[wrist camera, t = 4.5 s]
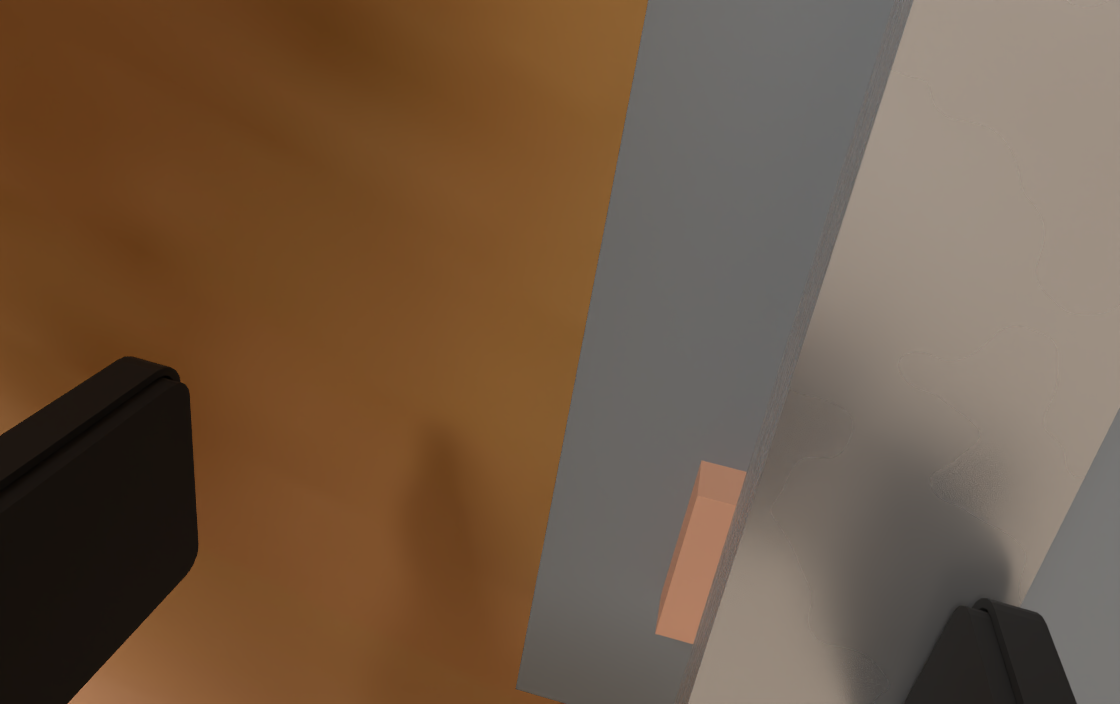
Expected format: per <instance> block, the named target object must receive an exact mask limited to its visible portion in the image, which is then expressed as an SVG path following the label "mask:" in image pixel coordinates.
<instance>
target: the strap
mask: <svg viewBox="0 0 1120 704" xmlns="http://www.w3.org/2000/svg"><path fill="white" fill-rule="evenodd" d="M1119 408H1120V0H894V2H893V5H892V8H891V11H890V15H889V18H888V21H887V24H886V27H885V31H884V34H883V37H882V40H881V43H880V47H879V50H878V53H877V56H876V59H875V63H874V66H873V69H872V72H871V75H870V79H869V82H868V85H867V88H866V91H865V95H864V98H863V101H862V104H861V107H860V111H859V114H858V117H857V120H856V124H855V127H854V130H853V133H852V136H851V140H850V143H849V146H848V149H847V152H846V156H845V159H844V162H843V165H842V168H841V172H840V175H839V178H838V181H837V184H836V188H835V191H834V194H833V197H832V200H831V204H830V207H829V210H828V213H827V216H826V220H825V223H824V226H823V229H822V232H821V236H820V239H819V242H818V245H817V249H816V252H815V255H814V258H813V261H812V265H811V268H810V271H809V274H808V277H807V281H806V284H805V287H804V290H803V293H802V297H801V300H800V303H799V306H798V309H797V313H796V316H795V319H794V322H793V325H792V329H791V332H790V335H789V338H788V341H787V345H786V348H785V351H784V354H783V358H782V361H781V364H780V367H779V370H778V374H777V377H776V380H775V383H774V386H773V390H772V393H771V396H770V399H769V402H768V406H767V409H766V412H765V415H764V418H763V422H762V425H761V428H760V431H759V434H758V438H757V441H756V444H755V447H754V450H753V454H752V457H751V460H750V463H749V466H748V470H747V473H746V476H745V479H744V483H743V486H742V489H741V492H740V495H739V499H738V502H737V505H736V508H735V511H734V515H733V518H732V521H731V524H730V527H729V531H728V534H727V537H726V540H725V543H724V547H723V550H722V553H721V556H720V559H719V563H718V566H717V569H716V572H715V575H714V579H713V582H712V585H711V588H710V591H709V595H708V598H707V601H706V604H705V608H704V611H703V614H702V617H701V620H700V624H699V627H698V630H697V633H696V636H695V640H694V643H693V646H692V649H691V652H690V656H689V659H688V662H687V665H686V668H685V672H684V675H683V678H682V681H681V684H680V688H679V691H678V694H677V697H676V700H675V704H904V702H905V700H906V699H907V697H908V695H909V693H910V691H911V689H912V688H913V686H914V684H915V682H916V680H917V678H918V677H919V675H920V673H921V671H922V669H923V667H924V666H925V664H926V662H927V660H928V658H929V656H930V654H931V653H932V651H933V649H934V647H935V645H936V643H937V642H938V640H939V638H940V636H941V634H942V632H943V631H944V629H945V627H946V625H947V623H948V621H949V620H950V618H951V616H952V614H953V613H954V611H955V610H956V608H958V607H959V606H967V607H971V608H972V607H973V605H974V604H975V602H977V601H978V600H979V599H981V598H988V599H992V600H995V601H999V602H1002V603H1006V604H1009V605H1013V606H1016V607H1020V606H1021V604H1022V602H1023V600H1024V598H1025V596H1026V594H1027V592H1028V590H1029V588H1030V586H1031V584H1032V582H1033V580H1034V578H1035V576H1036V574H1037V572H1038V570H1039V568H1040V566H1041V564H1042V562H1043V560H1044V558H1045V556H1046V554H1047V552H1048V550H1049V548H1050V546H1051V544H1052V542H1053V540H1054V538H1055V536H1056V534H1057V532H1058V530H1059V528H1060V526H1061V524H1062V522H1063V520H1064V518H1065V516H1066V514H1067V512H1068V510H1069V508H1070V506H1071V504H1072V502H1073V500H1074V498H1075V496H1076V494H1077V492H1078V490H1079V488H1080V486H1081V484H1082V482H1083V480H1084V478H1085V476H1086V474H1087V472H1088V470H1089V468H1090V466H1091V464H1092V462H1093V460H1094V458H1095V456H1096V454H1097V452H1098V450H1099V448H1100V446H1101V444H1102V442H1103V440H1104V438H1105V436H1106V434H1107V432H1108V430H1109V428H1110V426H1111V424H1112V422H1113V420H1114V418H1115V416H1116V414H1117V412H1118V410H1119Z"/></svg>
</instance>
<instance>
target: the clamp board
mask: <svg viewBox="0 0 1120 704" xmlns="http://www.w3.org/2000/svg"><path fill="white" fill-rule="evenodd" d="M893 2H894V0H648V5H647V10H646V15H645V20H644V26H643V31H642V36H641V41H640V46H639V52H638V57H637V62H636V67H635V72H634V78H633V83H632V88H631V93H630V98H629V103H628V109H627V114H626V119H625V124H624V129H623V135H622V140H621V145H620V150H619V155H618V161H617V166H616V171H615V176H614V181H613V187H612V192H611V197H610V202H609V207H608V212H607V218H606V223H605V228H604V233H603V238H602V244H601V249H600V254H599V259H598V264H597V270H596V275H595V280H594V285H593V290H592V296H591V301H590V306H589V311H588V316H587V321H586V327H585V332H584V337H583V342H582V347H581V353H580V358H579V363H578V368H577V373H576V379H575V384H574V389H573V394H572V399H571V405H570V410H569V415H568V420H567V425H566V430H565V436H564V441H563V446H562V451H561V456H560V462H559V467H558V472H557V477H556V482H555V488H554V493H553V498H552V503H551V508H550V513H549V519H548V524H547V529H546V534H545V539H544V545H543V550H542V555H541V560H540V565H539V571H538V576H537V581H536V586H535V591H534V597H533V602H532V607H531V612H530V617H529V622H528V628H527V633H526V638H525V643H524V648H523V654H522V659H521V664H520V669H519V674H518V680H517V685H516V689H517V690H521V691H524V692H528V693H531V694H535V695H538V696H541V697H545V698H548V699H552V700H555V701H559V702H562V703H565V704H675V700H676V697H677V694H678V691H679V688H680V684H681V681H682V678H683V675H684V672H685V668H686V665H687V662H688V659H689V656H690V652H691V649H692V646H693V643H694V640H695V636H696V633H697V630H698V627H699V624H700V620H701V617H702V614H703V611H704V608H705V604H706V601H707V598H708V595H709V591H710V588H711V585H712V582H713V579H714V575H715V572H716V569H717V566H718V563H719V559H720V556H721V553H722V550H723V547H724V543H725V540H726V537H727V534H728V531H729V527H730V524H731V521H732V518H733V515H734V511H735V508H736V505H737V502H738V499H739V495H740V492H741V489H742V486H743V483H744V479H745V476H746V473H747V470H748V466H749V463H750V460H751V457H752V454H753V450H754V447H755V444H756V441H757V438H758V434H759V431H760V428H761V425H762V422H763V418H764V415H765V412H766V409H767V406H768V402H769V399H770V396H771V393H772V390H773V386H774V383H775V380H776V377H777V374H778V370H779V367H780V364H781V361H782V358H783V354H784V351H785V348H786V345H787V341H788V338H789V335H790V332H791V329H792V325H793V322H794V319H795V316H796V313H797V309H798V306H799V303H800V300H801V297H802V293H803V290H804V287H805V284H806V281H807V277H808V274H809V271H810V268H811V265H812V261H813V258H814V255H815V252H816V249H817V245H818V242H819V239H820V236H821V232H822V229H823V226H824V223H825V220H826V216H827V213H828V210H829V207H830V204H831V200H832V197H833V194H834V191H835V188H836V184H837V181H838V178H839V175H840V172H841V168H842V165H843V162H844V159H845V156H846V152H847V149H848V146H849V143H850V140H851V136H852V133H853V130H854V127H855V124H856V120H857V117H858V114H859V111H860V107H861V104H862V101H863V98H864V95H865V91H866V88H867V85H868V82H869V79H870V75H871V72H872V69H873V66H874V63H875V59H876V56H877V53H878V50H879V47H880V43H881V40H882V37H883V34H884V31H885V27H886V24H887V21H888V18H889V15H890V11H891V8H892V5H893ZM1020 608H1023V609H1027V610H1031V611H1034V612H1037V613H1039V614H1040V615H1041V616H1042V617H1043V618H1044V620H1045V622H1046V624H1047V626H1048V629H1049V632H1050V634H1051V637H1052V640H1053V642H1054V645H1055V647H1056V650H1057V653H1058V655H1059V658H1060V660H1061V663H1062V666H1063V668H1064V671H1065V674H1066V676H1067V679H1068V681H1069V684H1070V687H1071V689H1072V692H1073V695H1074V697H1075V700H1076V702H1077V704H1120V408H1119V410H1118V412H1117V414H1116V416H1115V418H1114V420H1113V422H1112V424H1111V426H1110V428H1109V430H1108V432H1107V434H1106V436H1105V438H1104V440H1103V442H1102V444H1101V446H1100V448H1099V450H1098V452H1097V454H1096V456H1095V458H1094V460H1093V462H1092V464H1091V466H1090V468H1089V470H1088V472H1087V474H1086V476H1085V478H1084V480H1083V482H1082V484H1081V486H1080V488H1079V490H1078V492H1077V494H1076V496H1075V498H1074V500H1073V502H1072V504H1071V506H1070V508H1069V510H1068V512H1067V514H1066V516H1065V518H1064V520H1063V522H1062V524H1061V526H1060V528H1059V530H1058V532H1057V534H1056V536H1055V538H1054V540H1053V542H1052V544H1051V546H1050V548H1049V550H1048V552H1047V554H1046V556H1045V558H1044V560H1043V562H1042V564H1041V566H1040V568H1039V570H1038V572H1037V574H1036V576H1035V578H1034V580H1033V582H1032V584H1031V586H1030V588H1029V590H1028V592H1027V594H1026V596H1025V598H1024V600H1023V602H1022V604H1021V606H1020Z"/></svg>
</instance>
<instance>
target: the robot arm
mask: <svg viewBox="0 0 1120 704" xmlns="http://www.w3.org/2000/svg"><path fill="white" fill-rule="evenodd" d="M197 552H198V529H197V512H196V495H195V478H194V461H193V445H192V428H191V411H190V395H189V390H188V388H187V386H186V385H185V384H183V383H181V382H180V377H179V375H178V373H177V372H176V370H174V369H172V368H171V367H167V366H164V365H160V364H157V363H153V362H150V361H146V360H143V359H139V358H136V357H123V358H121V359H119V360H117V361H115V362H114V363H112V364H111V365H109V366H108V367H106V368H105V369H103V370H101V371H100V372H98V373H97V374H95V375H94V376H92V377H91V378H89V379H87V380H86V381H84V382H83V383H81V384H80V385H78V386H77V387H75V388H74V389H72V390H70V391H69V392H67V393H66V394H64V395H63V396H61V397H60V398H58V399H57V400H55V401H53V402H52V403H50V404H49V405H47V406H46V407H44V408H43V409H41V410H39V411H38V412H36V413H35V414H33V415H32V416H30V417H29V418H27V419H26V420H24V421H22V422H21V423H19V424H18V425H16V426H15V427H13V428H12V429H10V430H8V431H7V432H5V433H4V434H2V435H1V436H0V704H67V703H68V702H69V701H70V700H71V699H72V698H73V697H74V696H75V695H76V694H77V693H78V692H79V690H80V689H81V688H82V687H83V686H84V685H85V684H86V683H87V682H88V681H89V680H90V679H91V677H92V676H93V675H94V674H95V673H96V672H97V671H98V670H99V669H100V668H101V667H102V666H103V665H104V663H105V662H106V661H107V660H108V659H109V658H110V657H111V656H112V655H113V654H114V653H115V652H116V650H117V649H118V648H119V647H120V646H121V645H122V644H123V643H124V642H125V641H126V640H127V639H128V637H129V636H130V635H131V634H132V633H133V632H134V631H135V630H136V629H137V628H138V627H139V626H140V625H141V623H142V622H143V621H144V620H145V619H146V618H147V617H148V616H149V615H150V614H151V613H152V612H153V610H154V609H155V608H156V607H157V606H158V605H159V604H160V603H161V602H162V601H163V600H164V599H165V598H166V596H167V595H168V594H169V593H170V592H171V591H172V590H173V589H174V588H175V587H176V586H177V585H178V583H179V582H180V581H181V580H182V579H183V578H184V577H185V576H186V575H187V573H188V572H189V571H190V569H191V567H192V566H193V564H194V561H195V559H196V556H197ZM904 704H1077V702H1076V700H1075V697H1074V695H1073V692H1072V689H1071V687H1070V684H1069V681H1068V679H1067V676H1066V674H1065V671H1064V668H1063V666H1062V663H1061V660H1060V658H1059V655H1058V653H1057V650H1056V647H1055V645H1054V642H1053V640H1052V637H1051V634H1050V632H1049V629H1048V626H1047V624H1046V622H1045V620H1044V618H1043V617H1042V616H1041V615H1040V614H1039V613H1037V612H1034V611H1031V610H1027V609H1023V608H1020V607H1016V606H1013V605H1009V604H1006V603H1002V602H999V601H995V600H992V599H988V598H981V599H979V600H978V601H977V602H975V604H974V605H973V607H972V608H971V607H967V606H959V607H958V608H956V610H955V611H954V613H953V614H952V616H951V618H950V620H949V621H948V623H947V625H946V627H945V629H944V631H943V632H942V634H941V636H940V638H939V640H938V642H937V643H936V645H935V647H934V649H933V651H932V653H931V654H930V656H929V658H928V660H927V662H926V664H925V666H924V667H923V669H922V671H921V673H920V675H919V677H918V678H917V680H916V682H915V684H914V686H913V688H912V689H911V691H910V693H909V695H908V697H907V699H906V700H905V702H904Z"/></svg>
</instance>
